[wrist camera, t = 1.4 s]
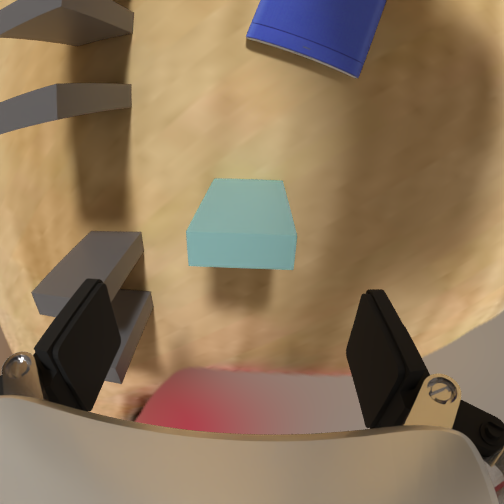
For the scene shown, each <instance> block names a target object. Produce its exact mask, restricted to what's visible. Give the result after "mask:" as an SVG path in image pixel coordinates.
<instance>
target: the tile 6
mask: <svg viewBox="0 0 504 504" xmlns="http://www.w3.org/2000/svg"><path fill="white" fill-rule="evenodd" d="M111 305H112V308H113V312H114V316H115V319H116V323H117V326H118V330H119V333H120V336H121V345H120V348H119V350H118V352H117V354H116V356H115V358H114V360H113V363H112V365H111V367H110V369H109V371H108V374H107V376H106V378H105V380H104V381H109V382H114V383H119V384H122V382H123V379H124V377H125V374H126V372H127V369H128V367H129V364H130V362H131V359H132V357H133V354H134V352H135V349H136V347H137V344H138V342H139V340H140V337H141V335H142V333H143V330H144V328H145V325H146V323H147V321H148V318H149V316H150V314H151V312H152V309H153V302H152V296H151V292H149V291H136V290H124V289H119V291H118V292H117V294H116V295H115V297H114V299H113V300H112V302H111Z"/></svg>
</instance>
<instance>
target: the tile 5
mask: <svg viewBox="0 0 504 504" xmlns="http://www.w3.org/2000/svg"><path fill="white" fill-rule="evenodd" d="M143 252H144V248H143V241H142V234H141V232H113V231H91V232H90V233H89V234H88V235H86V236H85V237H84V238H83V239H82V240H81V241H80V242H79V243H78V244H77V245H76V246H75V247H74V248H73V249H72V250H71V251H70V252H69V253H68V254H67V255H66V256H65V257H64V258H63V259H62V260H61V261H60V262H59V263H58V264H57V265H56V266H55V267H54V268H53V270H52V271H51V272H50V273H49V274H48V275H47V276H46V277H45V278H44V279H43V280H42V281H41V282H40V284H39V285H38V286H37V287H36V288H35V289H34V290H33V291H32V292H31V293H32V295H33V298H34V301H35V303H36V306H37V308H38V311H39V313H40V314H42V315H47V316H52V317H57V315H58V314H59V313H60V311H61V310H62V309H63V307H64V306H65V305H66V303H67V302H68V301H69V300H70V298H71V297H72V296H73V295H74V293H75V292H76V291H77V289H78V288H79V287H80V286H81V284H82V283H83V282H84V281H85V280H86V279H88V278H90V279H100V280H102V282H103V283H104V284H106V286H107V289H108V293H109V297H110V301H111V302H112V300H113V299H114V297H115V295H116V294H117V292H118V291H119V289H120V287H121V286H122V284H123V283H124V281H125V279H126V278H127V276H128V275H129V273H130V272H131V270H132V269H133V267H134V265H135V264H136V262H137V261H138V259H139V258H140V256H141V255H142V253H143Z"/></svg>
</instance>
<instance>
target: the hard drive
mask: <svg viewBox="0 0 504 504" xmlns="http://www.w3.org/2000/svg"><path fill="white" fill-rule="evenodd" d="M385 3H386V0H261V1H260V3H259V5H258V8H257V10H256V13H255V15H254V18H253V20H252V23H251V25H250V27H249V30H248V32H247V35H246V38H247V39H250V40H253V41H257V42H260V43H264V44H267V45H270V46H273V47H277V48H280V49H283V50H286V51H289V52H292V53H294V54H297V55H300V56H303V57H305V58H308V59H311V60H313V61H316V62H318V63H321V64H323V65H326V66H328V67H331V68H333V69H335V70H338V71H340V72H342V73H344V74H347V75H349V76H351V77H353V78H359V75H360V72H361V70H362V67H363V64H364V62H365V59H366V57H367V54H368V51H369V48H370V45H371V43H372V40H373V37H374V34H375V31H376V29H377V26H378V23H379V20H380V17H381V15H382V12H383V9H384V6H385Z"/></svg>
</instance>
